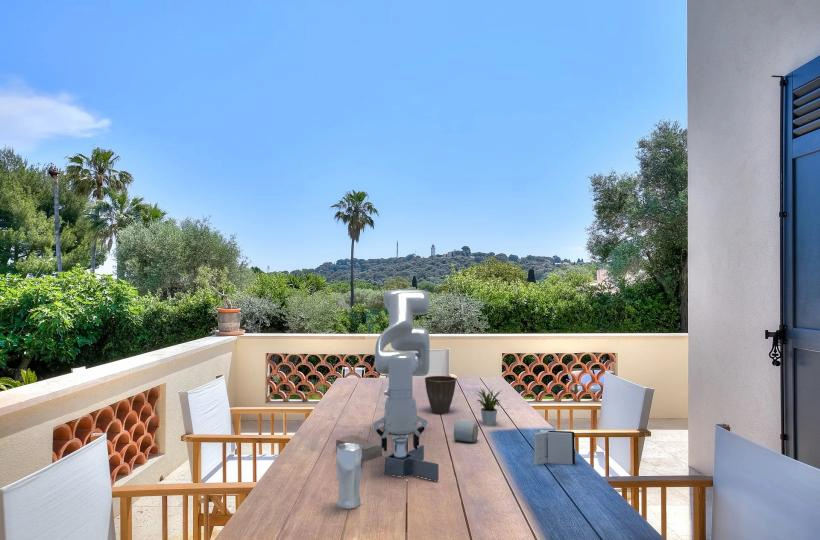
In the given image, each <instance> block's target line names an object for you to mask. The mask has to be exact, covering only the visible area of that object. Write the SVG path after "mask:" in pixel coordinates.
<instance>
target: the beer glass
mask: <svg viewBox="0 0 820 540" xmlns="http://www.w3.org/2000/svg"><path fill="white" fill-rule="evenodd" d="M363 464H364V463H363V456H362V445H360V444H357V443H345V444H341V445H339V446H338V447H337V450H336V458H335V465H336V475H337V482H338V499H337V506H339V507H338V508H340V507H341V508H340V509H342V508H346V509H345V510H352V509H351V508H354V509H357V508H359V507H360V506H361V496H360V486H361V480H362V476H363V475H362V474H363V473H362V472H363ZM358 506H359V507H358ZM356 507H357V508H356Z"/></svg>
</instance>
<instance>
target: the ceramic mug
mask: <svg viewBox="0 0 820 540" xmlns="http://www.w3.org/2000/svg"><path fill="white" fill-rule="evenodd" d="M478 435H479V425H478V424H477V423H476V422H473V421H467V420H462V419H456V421H455V422H454V427H453V439H454V441H460V442H465V443H466V442H467V443H475V442H477V441H478V437H479V436H478Z"/></svg>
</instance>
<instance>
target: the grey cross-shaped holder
mask: <svg viewBox="0 0 820 540" xmlns="http://www.w3.org/2000/svg"><path fill="white" fill-rule="evenodd" d="M423 460H424V461H423ZM439 467H440V466H439V463H436V462H432V461H426V460H425V445H423V444H422V445H419V446H417V449H415V448H413V449H410V450H409V451H407V458H406V459H404V460H400V459H395V458H394V452H392V453H391V454H388V455H386V456H384V474H385V475H388V474H391V475H390V476H392V475H395V476H394V477H396V476H401V477H404V476H406V477H408V476H410V475H413V476H412V477H415V476H419V477H423V478H427V479H431V480H436V481H438V480H439V475H440V474H439ZM419 477H418V478H419ZM423 478H422V479H423ZM427 479H426V480H427ZM431 480H430V481H431ZM436 481H435V482H436ZM439 481H440V480H439ZM439 481H438V482H439Z"/></svg>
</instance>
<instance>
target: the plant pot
mask: <svg viewBox="0 0 820 540" xmlns="http://www.w3.org/2000/svg"><path fill="white" fill-rule="evenodd" d="M456 382H457V378H456V377H453V376H447V375H431V376H430V375H429V376H426V377H425V378H424V383H425V388H426V389H425V391H426V395H427V399H428V402H429V406H430V409H431V412H432V413H433V414H435V413H436V415H445V413H446V414H448V413H449V411H450V408H451V405H452V402H453V398H454V396H455V395H454V394H455V389H456V384H457V383H456Z"/></svg>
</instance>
